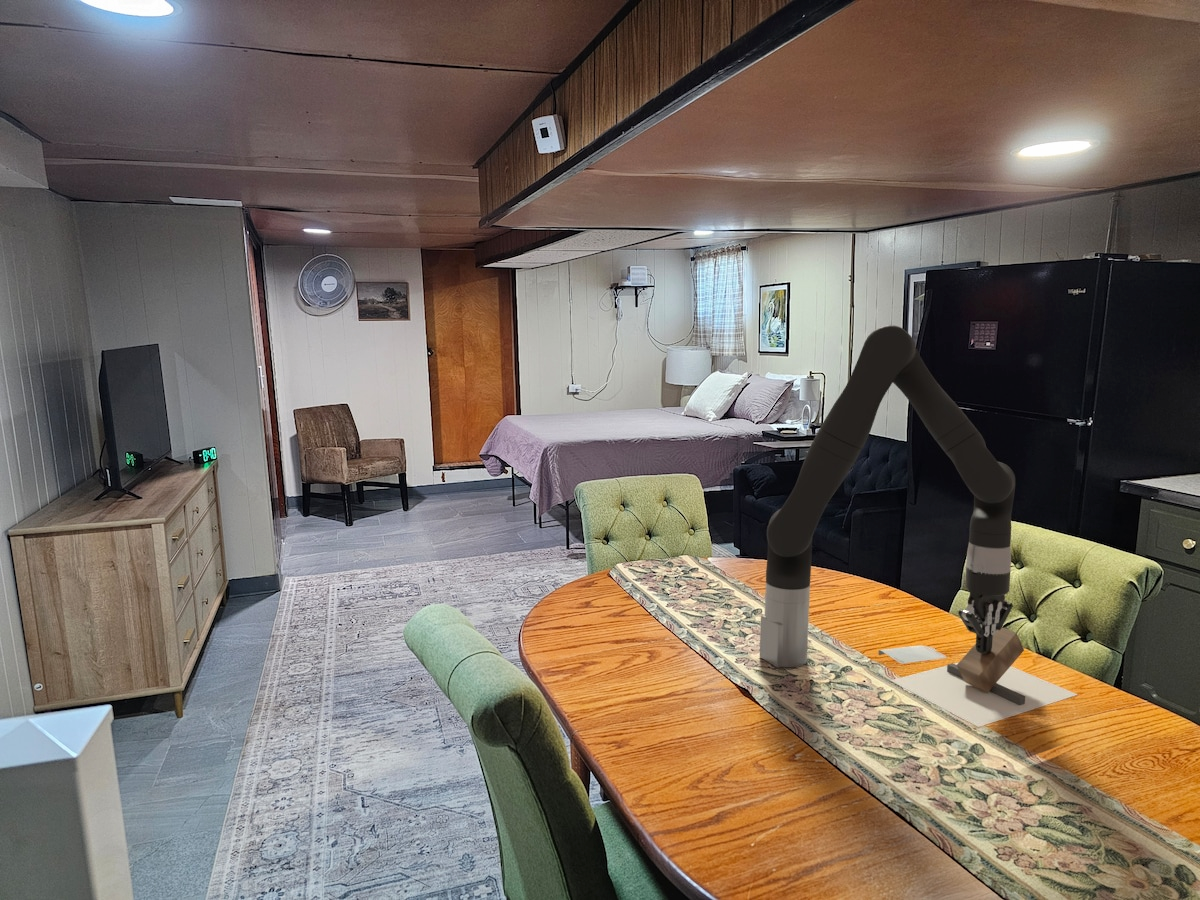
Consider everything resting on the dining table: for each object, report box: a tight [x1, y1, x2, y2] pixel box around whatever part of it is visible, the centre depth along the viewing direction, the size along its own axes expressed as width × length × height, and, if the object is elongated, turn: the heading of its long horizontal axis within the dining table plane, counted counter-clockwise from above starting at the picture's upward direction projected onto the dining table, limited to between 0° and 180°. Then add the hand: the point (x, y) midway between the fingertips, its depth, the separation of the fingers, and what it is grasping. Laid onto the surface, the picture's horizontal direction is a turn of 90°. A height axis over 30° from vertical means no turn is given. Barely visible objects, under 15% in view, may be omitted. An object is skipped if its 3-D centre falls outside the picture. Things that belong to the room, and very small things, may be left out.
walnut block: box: [957, 626, 1025, 693], centre depth 146 cm, size 5×5×12 cm
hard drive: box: [878, 644, 947, 665], centre depth 162 cm, size 2×8×12 cm
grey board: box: [890, 661, 1078, 728], centre depth 146 cm, size 28×20×2 cm
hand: (983, 652), depth 144 cm, fingers closed
